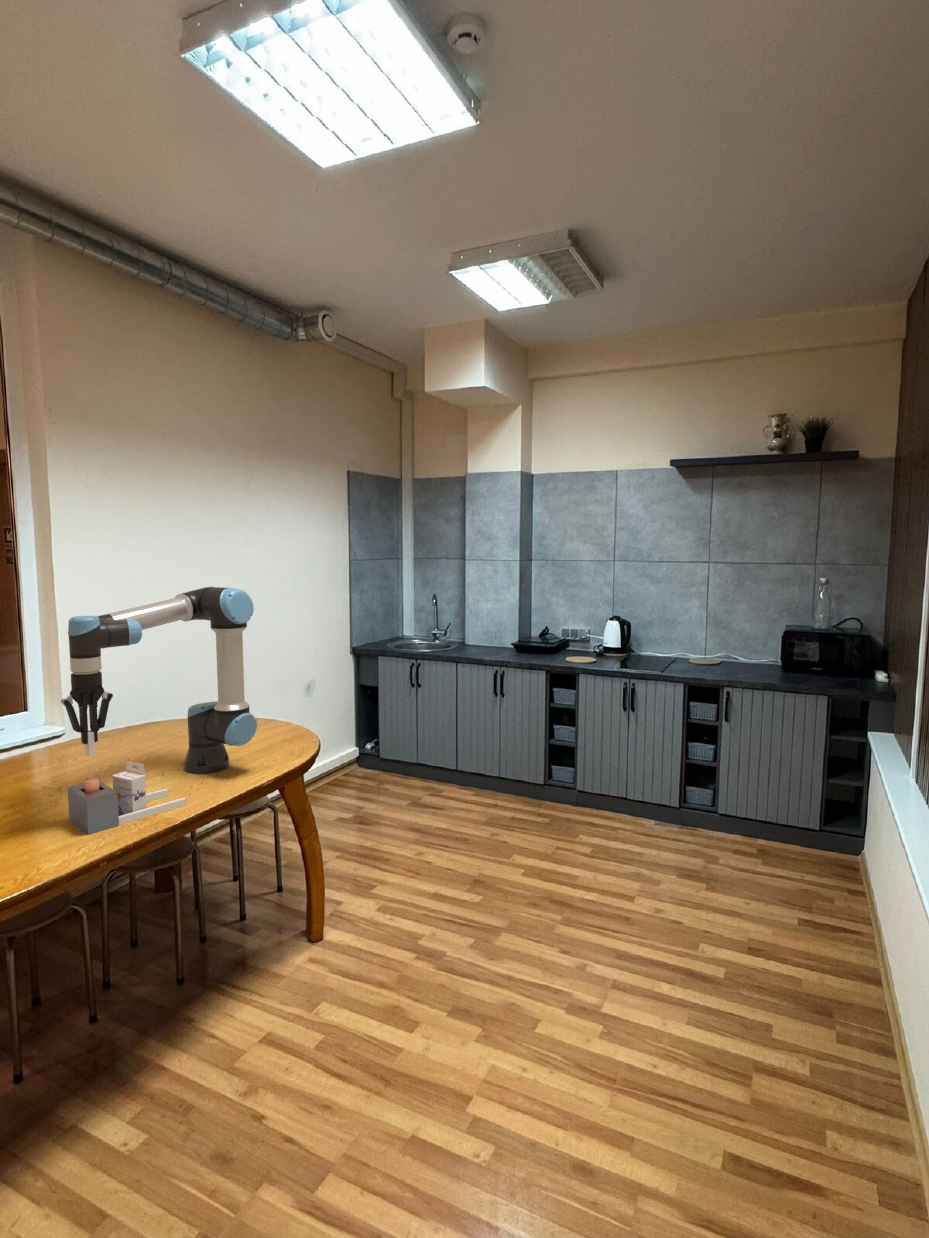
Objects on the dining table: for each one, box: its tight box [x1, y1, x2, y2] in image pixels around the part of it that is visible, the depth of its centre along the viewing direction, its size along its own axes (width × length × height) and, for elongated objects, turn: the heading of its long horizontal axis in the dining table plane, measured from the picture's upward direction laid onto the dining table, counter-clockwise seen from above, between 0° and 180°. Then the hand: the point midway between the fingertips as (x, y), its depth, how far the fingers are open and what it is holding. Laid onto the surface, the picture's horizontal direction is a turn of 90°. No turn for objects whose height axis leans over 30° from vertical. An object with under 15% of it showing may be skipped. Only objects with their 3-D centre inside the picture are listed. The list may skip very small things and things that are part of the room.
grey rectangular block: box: [67, 780, 120, 836], centre depth 189 cm, size 8×14×10 cm, turn 49°
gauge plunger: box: [84, 778, 100, 794], centre depth 189 cm, size 4×4×5 cm
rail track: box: [119, 788, 188, 826], centre depth 200 cm, size 20×13×2 cm, turn 139°
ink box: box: [111, 760, 148, 816], centre depth 196 cm, size 8×5×15 cm, turn 65°
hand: (90, 754), depth 187 cm, fingers closed
